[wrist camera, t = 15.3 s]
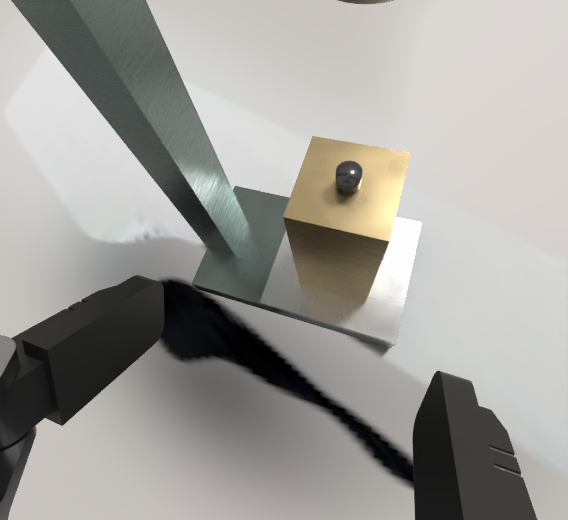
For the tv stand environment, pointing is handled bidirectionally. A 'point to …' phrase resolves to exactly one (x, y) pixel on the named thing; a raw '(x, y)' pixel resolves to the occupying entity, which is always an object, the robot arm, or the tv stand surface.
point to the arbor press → (207, 170)
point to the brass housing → (343, 214)
